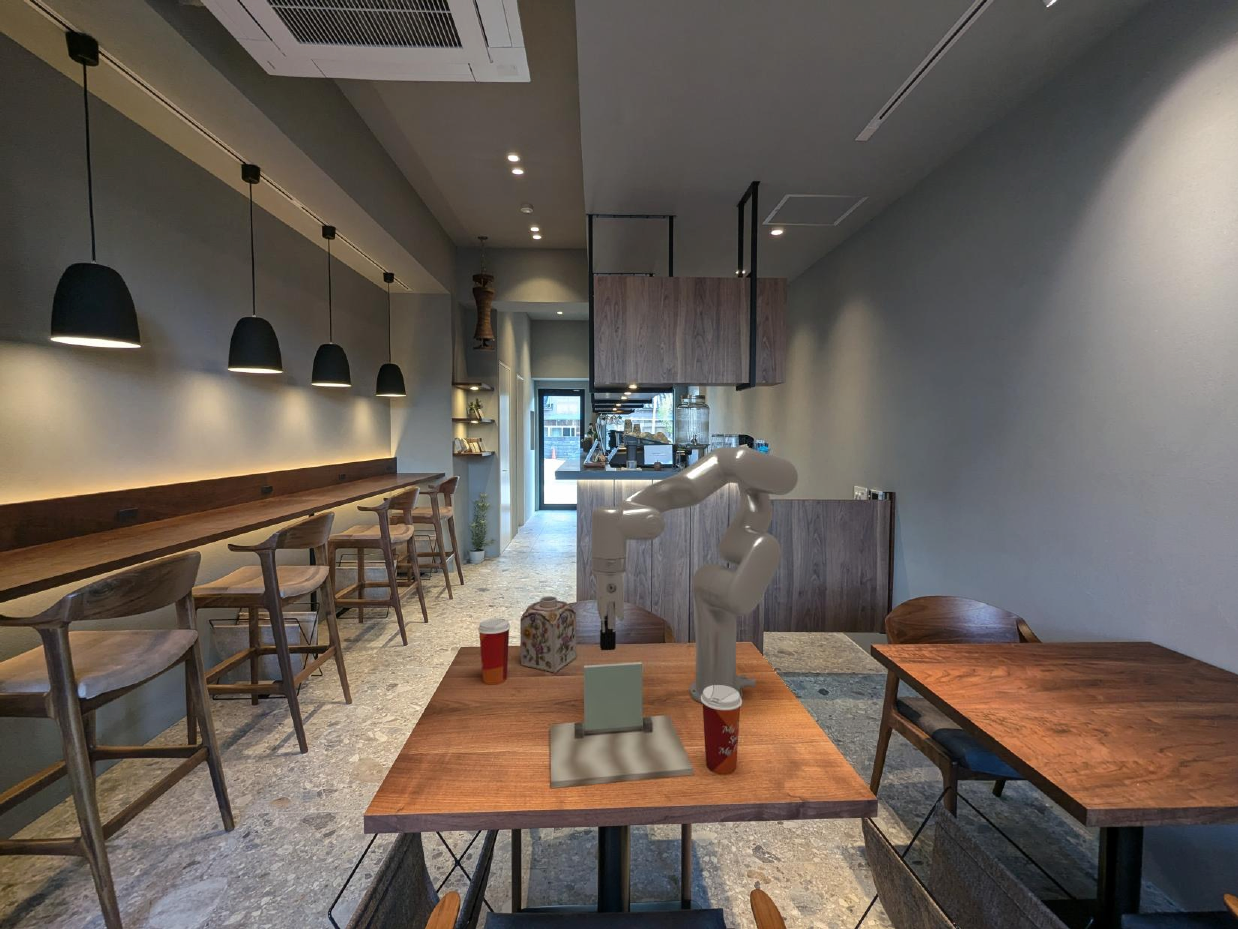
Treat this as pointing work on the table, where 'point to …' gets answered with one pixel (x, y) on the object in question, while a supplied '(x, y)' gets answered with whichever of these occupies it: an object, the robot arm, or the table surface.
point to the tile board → (616, 754)
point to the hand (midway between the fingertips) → (607, 648)
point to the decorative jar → (548, 635)
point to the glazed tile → (612, 697)
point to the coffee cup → (494, 649)
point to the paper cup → (721, 727)
